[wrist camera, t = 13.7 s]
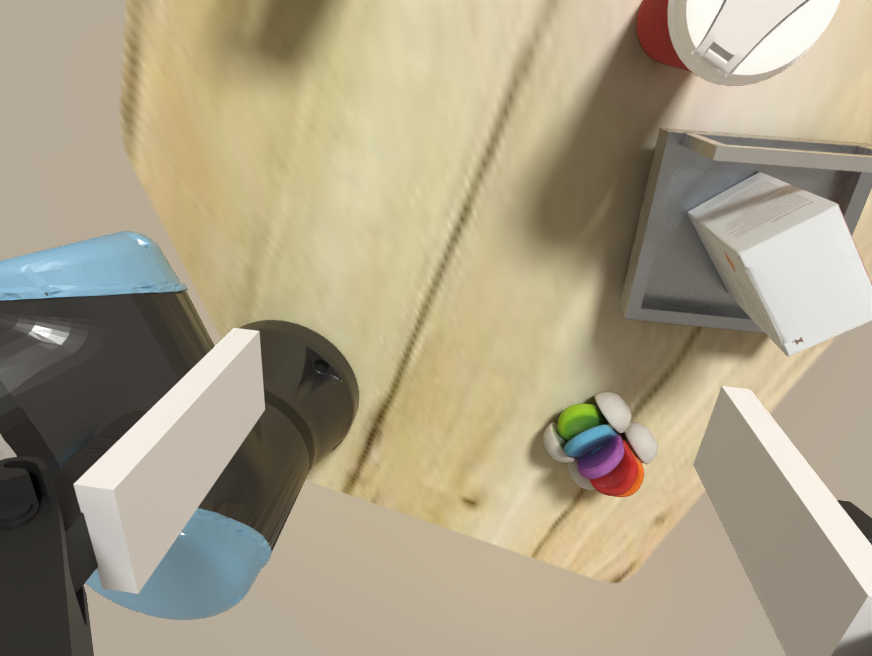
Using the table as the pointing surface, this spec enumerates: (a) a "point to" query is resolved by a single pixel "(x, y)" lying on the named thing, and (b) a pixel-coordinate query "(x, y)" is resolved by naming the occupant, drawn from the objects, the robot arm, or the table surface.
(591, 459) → the rainbow segmented toy
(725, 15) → the paper cup
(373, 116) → the table surface
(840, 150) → the grey storage bin
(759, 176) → the small box
